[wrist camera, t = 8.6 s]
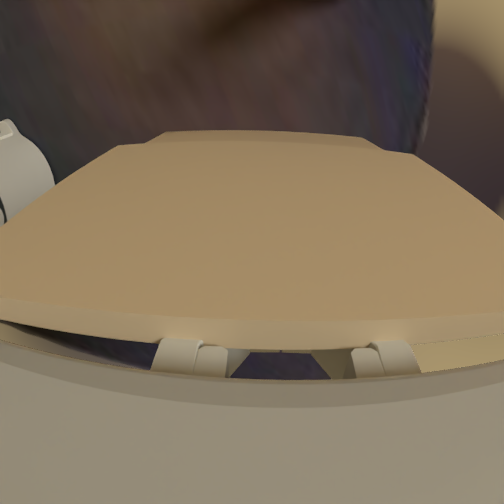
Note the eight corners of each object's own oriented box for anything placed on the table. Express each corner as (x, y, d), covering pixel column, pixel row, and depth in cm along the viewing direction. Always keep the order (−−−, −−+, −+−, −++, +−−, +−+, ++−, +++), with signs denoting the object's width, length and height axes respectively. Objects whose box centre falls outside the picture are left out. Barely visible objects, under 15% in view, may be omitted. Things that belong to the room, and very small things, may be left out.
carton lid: (-52, 306, 6) (-62, 285, 6) (119, 156, 20) (118, 145, 20) (573, 319, 6) (584, 299, 6) (410, 165, 20) (412, 154, 19)
